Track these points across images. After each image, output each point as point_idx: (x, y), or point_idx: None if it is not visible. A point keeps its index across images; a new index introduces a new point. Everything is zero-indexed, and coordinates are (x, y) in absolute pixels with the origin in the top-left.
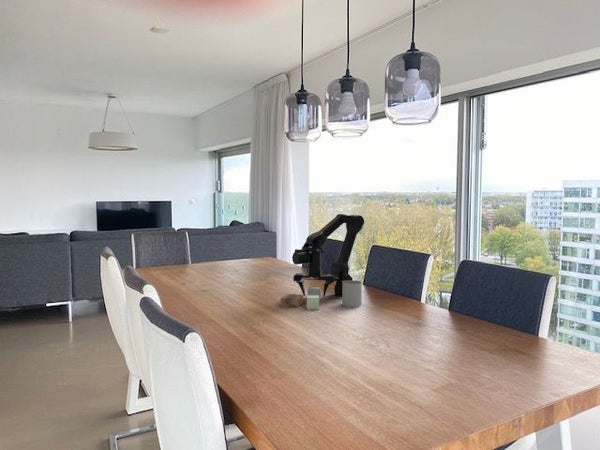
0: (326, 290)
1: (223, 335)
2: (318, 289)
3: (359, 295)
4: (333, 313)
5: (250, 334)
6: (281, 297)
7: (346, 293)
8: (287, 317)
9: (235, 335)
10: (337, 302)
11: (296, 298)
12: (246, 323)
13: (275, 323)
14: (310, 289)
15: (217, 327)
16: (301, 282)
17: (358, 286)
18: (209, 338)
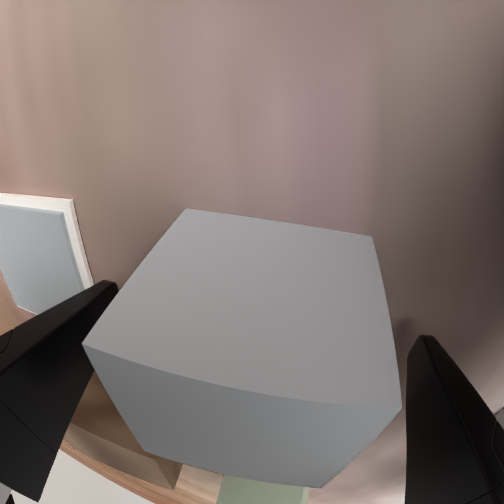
0: (479, 415)
1: (127, 486)
2: (319, 481)
3: None
4: (367, 493)
5: (165, 499)
6: (75, 447)
7: None
8: (194, 487)
9: (144, 493)
10: (488, 393)
11: (159, 485)
12: (119, 473)
13: (182, 494)
14: (183, 463)
15: (89, 464)
16: (33, 496)
17: None
18: (117, 484)
